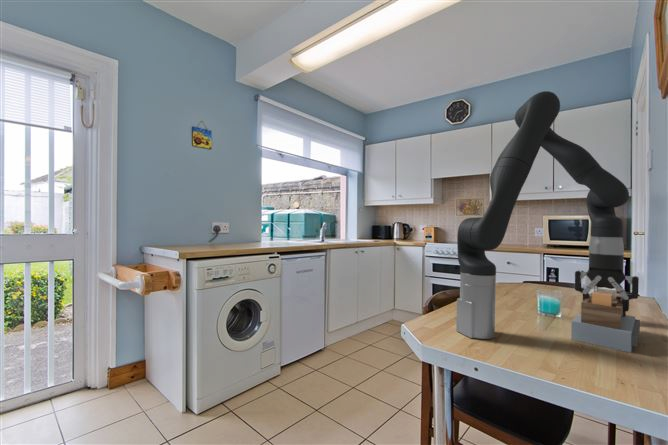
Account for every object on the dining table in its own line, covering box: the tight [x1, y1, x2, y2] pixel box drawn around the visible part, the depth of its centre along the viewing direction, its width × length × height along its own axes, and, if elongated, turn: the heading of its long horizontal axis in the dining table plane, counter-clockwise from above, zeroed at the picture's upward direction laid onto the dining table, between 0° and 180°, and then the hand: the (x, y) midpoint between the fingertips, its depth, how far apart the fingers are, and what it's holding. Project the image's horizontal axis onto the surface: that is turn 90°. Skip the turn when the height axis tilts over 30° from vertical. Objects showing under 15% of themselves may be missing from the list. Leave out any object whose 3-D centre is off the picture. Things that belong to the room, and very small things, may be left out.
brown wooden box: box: [580, 293, 627, 330], centre depth 89 cm, size 20×8×6 cm, turn 134°
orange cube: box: [592, 292, 613, 307], centre depth 85 cm, size 4×4×4 cm
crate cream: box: [598, 287, 618, 299], centre depth 94 cm, size 4×4×4 cm
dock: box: [570, 311, 641, 354], centre depth 89 cm, size 22×13×5 cm, turn 134°
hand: (604, 309), depth 89 cm, fingers open, 7 cm apart
